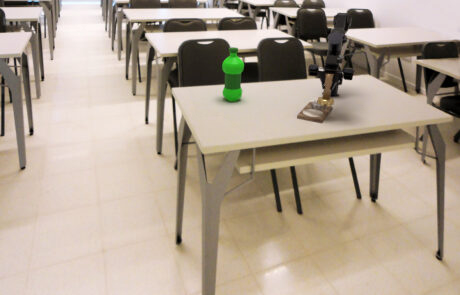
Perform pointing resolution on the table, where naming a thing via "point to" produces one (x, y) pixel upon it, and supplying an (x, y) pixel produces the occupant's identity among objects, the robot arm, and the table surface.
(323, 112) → the gear board
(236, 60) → the plastic bottle
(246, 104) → the table surface
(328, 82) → the brass gear
